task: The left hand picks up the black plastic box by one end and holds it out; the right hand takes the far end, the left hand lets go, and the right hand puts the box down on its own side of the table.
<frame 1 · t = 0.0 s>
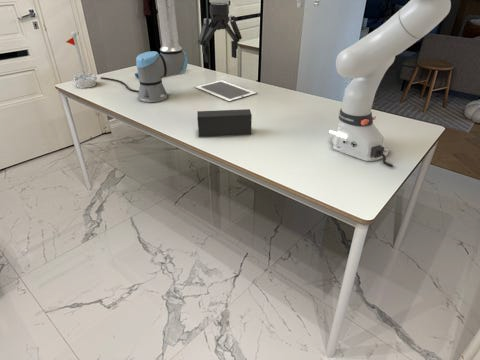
left hand: (220, 59, 144), 28 cm above the table, tool pointing down, fingers open, 13 cm apart
right hand: (308, 6, 134), 48 cm above the table, tool pointing down, fingers open, 8 cm apart
box: (224, 132, 148), on the table
submachine gun: (160, 73, 227), on the table
tablet: (225, 90, 196), on the table
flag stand: (86, 85, 205), on the table
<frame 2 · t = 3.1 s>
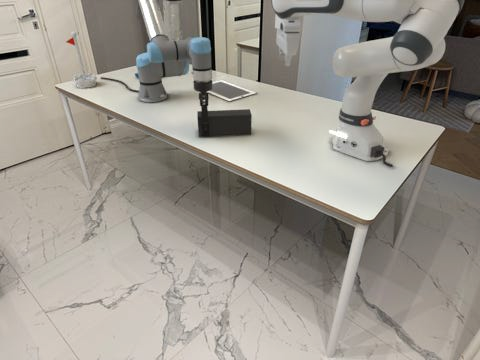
left hand: (206, 132, 147), 0 cm above the table, tool pointing down, fingers closed on box, 6 cm apart
right hand: (284, 62, 129), 31 cm above the table, tool pointing down, fingers open, 8 cm apart
box: (224, 132, 148), on the table, touching left hand
everything else where it was.
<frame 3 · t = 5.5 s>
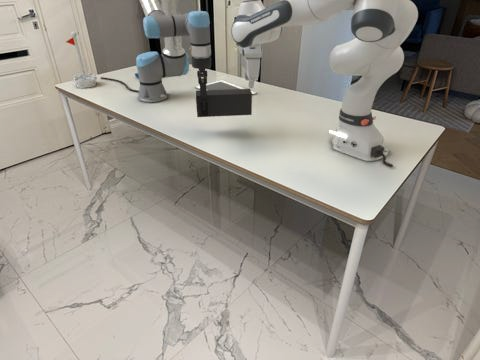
left hand: (204, 113, 143), 9 cm above the table, tool pointing down, fingers closed on box, 6 cm apart
right hand: (249, 83, 136), 22 cm above the table, tool pointing down, fingers open, 8 cm apart
box: (224, 113, 143), point 9 cm above the table, touching left hand
everything else where it was.
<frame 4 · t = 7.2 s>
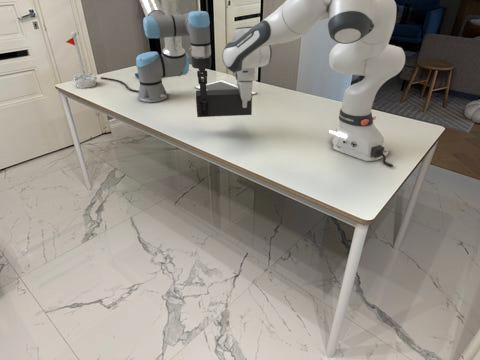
left hand: (204, 112, 143), 9 cm above the table, tool pointing down, fingers closed on box, 6 cm apart
right hand: (243, 103, 142), 13 cm above the table, tool pointing down, fingers closed on box, 6 cm apart
box: (224, 113, 144), point 9 cm above the table, touching right hand, left hand
everything else where it was.
when the left hand's fingers open (9 cm above the table, at t = 8.1 s): box stays where it is, held by the right hand.
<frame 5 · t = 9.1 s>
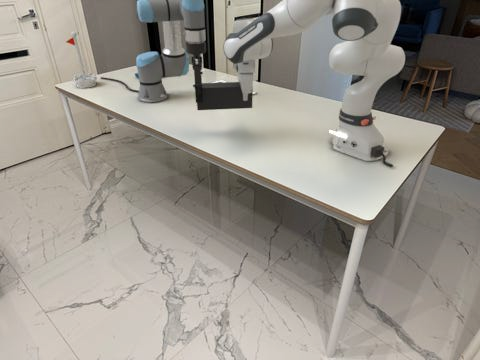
left hand: (199, 96, 139), 17 cm above the table, tool pointing down, fingers open, 13 cm apart
right hand: (244, 97, 141), 16 cm above the table, tool pointing down, fingers closed on box, 6 cm apart
box: (224, 106, 142), point 12 cm above the table, touching right hand
everything else where it was.
when the right hand's fingers open (5 cm above the table, at t = 13.6 s): box drops 1 cm, on the table.
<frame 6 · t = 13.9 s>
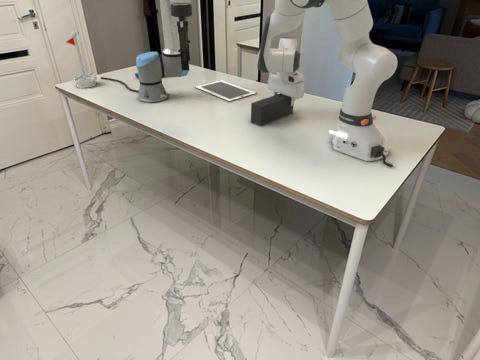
left hand: (186, 65, 131), 29 cm above the table, tool pointing down, fingers open, 13 cm apart
right hand: (284, 102, 164), 5 cm above the table, tool pointing down, fingers open, 8 cm apart
box: (272, 117, 163), on the table
everything else where it was.
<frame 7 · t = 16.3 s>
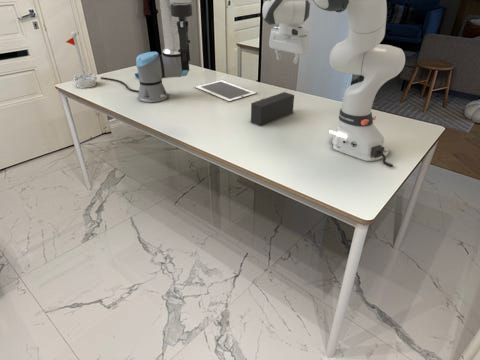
left hand: (186, 65, 131), 29 cm above the table, tool pointing down, fingers open, 13 cm apart
right hand: (286, 61, 153), 25 cm above the table, tool pointing down, fingers open, 8 cm apart
nothing on the table moved.
at the end: box inside the target area (7.9 cm from its centre), on the table; the left hand is holding nothing; the right hand is holding nothing; box at rest at the end (0.0 cm/s) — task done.
